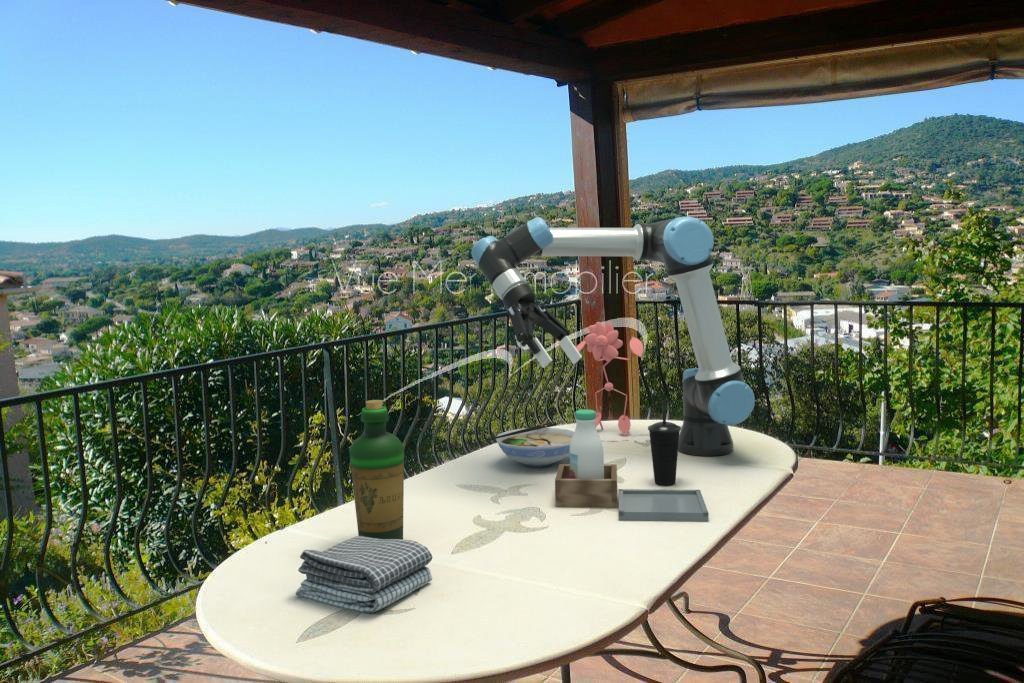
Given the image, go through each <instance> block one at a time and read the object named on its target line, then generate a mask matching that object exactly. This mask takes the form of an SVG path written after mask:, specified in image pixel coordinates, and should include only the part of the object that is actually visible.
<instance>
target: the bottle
mask: <svg viewBox="0 0 1024 683" xmlns="http://www.w3.org/2000/svg"><path fill="white" fill-rule="evenodd" d="M383 401H384V400H382V399H371V400H366V401H365V407H362V409H361V417H360V422H363V426H364V433H363V434H361V435H359V437H357V438H355V440H353V441H352V444H350V447H349V448H348V453H349V461H350V471H351V480H352V481H351V482H352V490H353V496H354V507H355V508H354V509H355V516H356V524H357V533H358V534H357V536H364V537H371V538H377V539H403V540H404V494H405V493H404V492H405V491H404V490H405V486H404V484H405V483H404V482H405V481H404V480H405V475H404V474H405V470H404V468H405V467H404V466H405V447H404V444H403V443H402V441H401V440H400V439H399V438H398V437H397V436H396V435H395V434H392V433H391V432H388V431H387V421H388V420H390V417H389V413H388V409H387V406H384V405H383V403H384V402H383Z"/></svg>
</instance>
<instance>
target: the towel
mask: <svg viewBox="0 0 1024 683" xmlns="http://www.w3.org/2000/svg"><path fill="white" fill-rule="evenodd" d="M299 558H300V559H301V560H303V562H302V563H301V566H300V567H299V568H298V569H297V571H298V572H299V573H300V574H302V575H305V577H306V579H303V580H302V582H301V583H300V587H298V588H297V590H296V592H295V596H296V597H297V598H299V599H304V600H309V601H312V602H315V603H319V604H324V605H328V606H331V607H336V608H340V609H344V610H347V611H352V612H357V613H362V614H367V613H368V614H370V613H376V612H377V611H378V612H379V611H380V610H382V609H384V608H386V607H388V606H390V605H391V604H393V603H395V602H397V601H398V600H400V599H402V598H404V597H406V596H408V595H409V594H411V593H412V592H414V591H417V589H419V588H422V587H423V586H425V585H427V584H428V583H430V582H432V580H433V576H432V572H431V568H430V567H428V566H427V565H428V564H430V563H431V561H432V559H433V555H432V553H431V551H430V550H429V548H428V547H426V546H425V545H423V544H421V543H419V542H418V541H416V540H411V539H409V540H408V539H404V538H403V539H377V538H371V537H364V536H359V535H357V536H354V537H351V538H349V539H347V540H346V539H345V541H342V542H340V543H338V544H336V545H333V546H332V547H331V548H328V549H326V550H323V551H319V550H316V549H315V550H314V549H305V550H303V551H302V552H301V554H300V555H299Z"/></svg>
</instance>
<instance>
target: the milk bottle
mask: <svg viewBox="0 0 1024 683" xmlns="http://www.w3.org/2000/svg"><path fill="white" fill-rule="evenodd" d="M596 413H597V411H596V410H593V409H578V410H576V411H575V413H574V415H575V416H574V417H575V418H574V419H575V422H576V426H575V429H574V435H573V437H572V439H571V443H570V454H569V455H568V456H569V464H570V479H604V464H605V460H604V459H605V457H604V446H603V440H602V439H601V436H600V435H599V432H598V430H597V427H596V426H595V421H596Z"/></svg>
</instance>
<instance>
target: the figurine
mask: <svg viewBox="0 0 1024 683" xmlns="http://www.w3.org/2000/svg"><path fill="white" fill-rule="evenodd" d="M588 330H589V332H590V333H588V334H587V335H586V336H585V337H584V340H583V341H581V342H580V343H579V344H577V346H575V347H576V349H577V350H578V352H579V353H580V352H581V351H582V350H583V349H584V347H585V345H587V348H586V350H587V352H588V353H592V356H593V359H594V360H595V361H596V362H602V361H606V363H605V364H603V366H602V370H603V372H604V376H605V380H606V382H605V384H604V387H603V388H601V389H599V390H597V391H595V393H594V396H595V398H594V399H595V408H596V410H595V411H596V421H595V426H596V428H597V427H598V426H599V425H600V429H601V430H602V431H604V426H603V423H602V421H601V420H602V412H601V411H599V410H598V409H599V408H598V399H597V397H598V396H597V393H600V392H601V391H603V390H605V391H606V392H611V391H615V392H617V393H620V394H622V395H624V396H625V403H624V410H623V414H622V415H620V416H619V418H618V422H617V426H618V429H619V431H620V432H621V433H622V434H623V435H624V437H626V436H627V434H629V433H630V429H631V425H632V422H631V420H630V418H629V417H628V415H626V410H627V403H628V395H627V394H626V393H624V392H621V391H619V390H618V389H616V388H614V384H613V383H612V382H609V380H608V375H607V372H606V371H607V370H606V369H605V367H606V366H607V365H608V364H609V363H610V362H611V361H612V360H613V359H617V360H618V359H619V360H622V361H623V360H625V361H628V362H629V361H630V360H631V358H632V353H633V354H634V355H636V356H637V357H639V358H642V356H643V353H644V351H645V350H644V344H643V342H642V341H641V340H640V339H639V338H637V337H635V336H631V339H630V340H629V347H630V348H629V349H630V350H629V355H628V357H627V358H626V357H620V356H619V351H618V350H619V349H620V348H621V347H622V346H623V345H624V343H623V340H621V339H619V338H618V337H619V331H618V330H617V329H614V325H613V322H612V321H608V322H606V324H605V325H604V324H603V323H602V322H600V321H596V322H595V325H594V324H591V325H589V326H588ZM625 441H627V442H628V441H630V440H629V439H625V440H623V442H625ZM609 442H610V443H611V442H612V443H614V442H616V443H617V440H608V443H609Z"/></svg>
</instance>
